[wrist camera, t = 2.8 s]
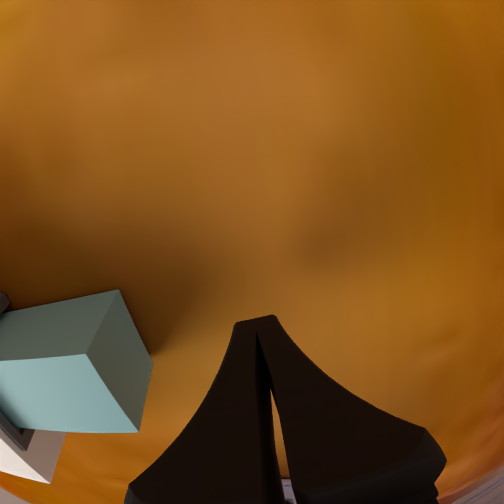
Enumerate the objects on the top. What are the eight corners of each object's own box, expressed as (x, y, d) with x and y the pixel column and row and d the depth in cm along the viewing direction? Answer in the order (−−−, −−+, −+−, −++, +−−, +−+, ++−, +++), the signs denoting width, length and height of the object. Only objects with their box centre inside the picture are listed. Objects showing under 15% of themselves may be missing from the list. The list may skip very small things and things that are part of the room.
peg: (118, 289, 12) (85, 354, 8) (153, 363, 13) (139, 432, 10) (-6, 314, 12) (-45, 362, 8) (30, 374, 13) (3, 425, 10)
